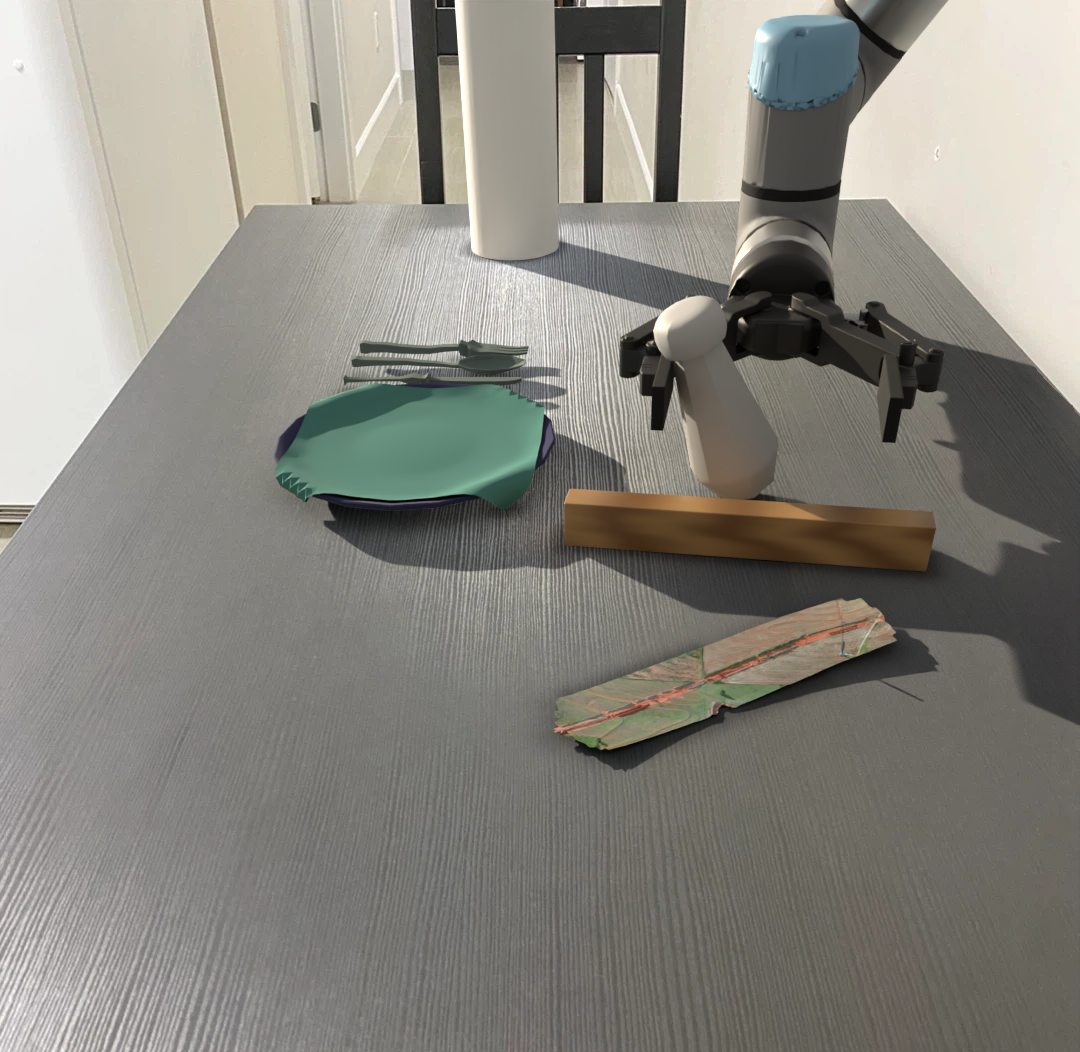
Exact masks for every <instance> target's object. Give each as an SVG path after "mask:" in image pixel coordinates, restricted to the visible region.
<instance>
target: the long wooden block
mask: <svg viewBox="0 0 1080 1052" xmlns="http://www.w3.org/2000/svg"><path fill="white" fill-rule="evenodd" d="M563 520H564V521H563V522H564V523H563V525H564V529H563V530H564V546H569V547H582V548H595V549H609V550H623V551H635V552H636V551H638V552H648V553H649V552H651V553H665V554H679V555H691V556H692V555H693V556H704V557H705V556H706V557H718V558H730V559H731V558H732V559H747V560H759V561H773V562H774V561H776V562H785V563H786V562H787V563H803V564H814V565H828V566H829V565H830V566H840V567H841V566H842V567H843V566H844V567H854V568H855V567H856V568H870V569H882V570H883V569H884V570H896V571H912V572H927V569H928V565H929V561H930V557H931V553H932V548H933V544H934V539H935V535H936V530H937V525H936V519H935V514H934V511H925V510H912V509H911V510H910V509H894V508H879V507H865V506H864V507H863V506H849V505H846V506H845V505H833V504H832V505H831V504H816V503H801V502H800V503H799V502H787V501H786V502H785V501H770V500H769V501H768V500H753V499H745V500H741V499H725V498H720V497H707V496H693V495H679V494H678V495H677V494H663V493H662V494H661V493H646V492H629V491H615V490H614V491H613V490H600V489H599V490H597V489H583V488H569V489H568V492H567V494H566V497H565V500H564V503H563Z"/></svg>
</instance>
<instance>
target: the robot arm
mask: <svg viewBox="0 0 1080 1052" xmlns="http://www.w3.org/2000/svg"><path fill="white" fill-rule="evenodd" d="M948 1H949V0H825V1H824V3H823V4H822V5H821V7H820V8H819V10H818V11H817V12H816V14H795V15H794V14H793V15H785V16H780V17H775V18H770V19H768V20H766V21H764V22H763V23H761V25H760V26H759V27H758V28H757V30H756V33H755V35H754V40H753V48H752V56H751V64H750V68H749V69H748V71H747V79H746V81H747V84H748V95H747V110H746V122H745V123H746V125H745V135H744V137H745V138H744V150H743V152H744V153H743V165H742V166H743V168H742V178H741V186H740V195H739V207H738V221H737V231H736V242H735V249H734V250H735V251H734V252H735V253H734V262H733V265H732V269H731V275H730V280H729V281H730V282H729V288H728V293H727V298H726V300H725V301H723V302H722V303H721V304H719V305H720V307H721V308H722V310H723V312H724V314H725V318H726V322H727V331H726V335H725V338H724V339H723V340H722V342H723V344H724V345H725V347H726V349H727V351H728V353H729V354H730V356H731V358H732V360H733V362H734V363H735V362H737V361H740V360H742V359H745V358H746V357H750V356H752V357H756V358H758V359H762V360H766V361H772V362H773V361H775V362H777V361H778V362H779V361H788V360H792V359H799V358H800V359H801V358H802V359H804V360H805V361H808V362H809V363H811V364H814V365H815V366H817V367H819V368H822V367H825V366H829V365H832V366H833V367H835V368H838V369H840V370H843V371H844V372H846V373H849V374H850V375H851V376H854V377H856V378H859V379H860V380H863V381H865V382H867V383H869V384H870V385H873V386H875V387H877V388H878V389H877V393H876V395H877V396H876V400H877V410H878V418H879V419H878V420H879V427H880V437H881V443H888V444H896V442H897V436H898V431H899V426H900V421H901V416H902V411H903V410H912V409H913V408H914V405H915V401H916V396H917V390H918V391H919V392H922V393H935V392H937V391H938V387H939V382H940V379H941V373H942V369H943V363H944V358H945V355H946V350H945V349H943V348H942V347H940V346H939V345H937V344H935V343H934V342H933V341H931V340H930V339H928V338H927V337H925V336H923V335H922V334H921V333H919V332H918V331H916V330H914V329H913V328H912V327H910V326H908V325H906V324H905V323H903V322H902V321H901V320H899V319H898V318H896V317H895V316H894V315H892V314H890V313H889V312H888V310H887V307H886V306H885V304H884V303H883V302H881V301H877V300H872V301H867V302H866V303H865V308H861V309H860V310H859V313H856V312H855V313H851V312H850V313H844V310H843V309H842V307H841V306H840V305H838V304H837V303H836V294H835V276H834V262H833V253H834V251H833V250H834V242H835V241H834V240H835V233H836V225H837V217H838V211H839V203H840V194H841V186H842V176H843V170H844V162H845V156H846V149H847V143H848V137H849V130H850V126H851V124H852V123H853V122H854V120H855V118H856V117H857V116H858V114H859V113H860V112H861V111H862V109H863V108H864V107H865V106H866V105H867V104H868V102H869V101H870V100H871V98H872V96H873V95H874V94H875V93H876V91H878V89H879V88H880V86H881V85H882V84H883V83H884V81H885V80H886V79H887V78H888V77H889V75H890V74H891V73H892V71H893V70H894V69H895V68H896V67H897V66H898V64H900V62H901V61H902V59H903V57H904V56H905V54H906V53H908V51H909V49H910V48H912V46H913V45H914V44H915V43H916V41H917V40H918V39H919V37H920V36H921V35H922V34H923V32H924V31H925V30H926V28H928V27H929V25H930V24H931V23H932V21H933V20H934V19H935V18H936V16H937V15H938V14H939V13H940V12H941V10H942V9H943V8H944V7H945V6H946V4H948ZM694 296H697V295H695V294H686V295H683V296H681V297H680V299H679V301H681V300H683V299H686V298H688V297H694ZM660 315H661V314H659V315H657V316H655V317H654V318H652V319H650V320H648V321H646V322H644V323H643V324H641V325H640V326H637V327H636V328H634V329H632V330H631V331H629V332H627V333H625V334H623V335H622V336H620V337H619V357H618V358H619V359H618V361H619V363H618V365H619V366H618V367H619V371H618V373H619V374H618V375H619V377H620V378H623V379H634V378H636V377H638V376H639V394H640V395H641V397H651V408H650V431H659V432H663V431H664V429H665V424H666V421H667V416H668V412H669V408H670V405H671V404H670V403H671V399H672V395H673V391H674V387H675V386H674V385H675V379H676V377H675V371H674V365H673V361H671V360H667V359H666V358H665V357H664V356H663V354H662V353H661V352H660V350H659V348H658V346H657V344H656V342H655V338H654V332H653V330H654V326H655V323H656V321H657V319H658V317H659V316H660Z"/></svg>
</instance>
